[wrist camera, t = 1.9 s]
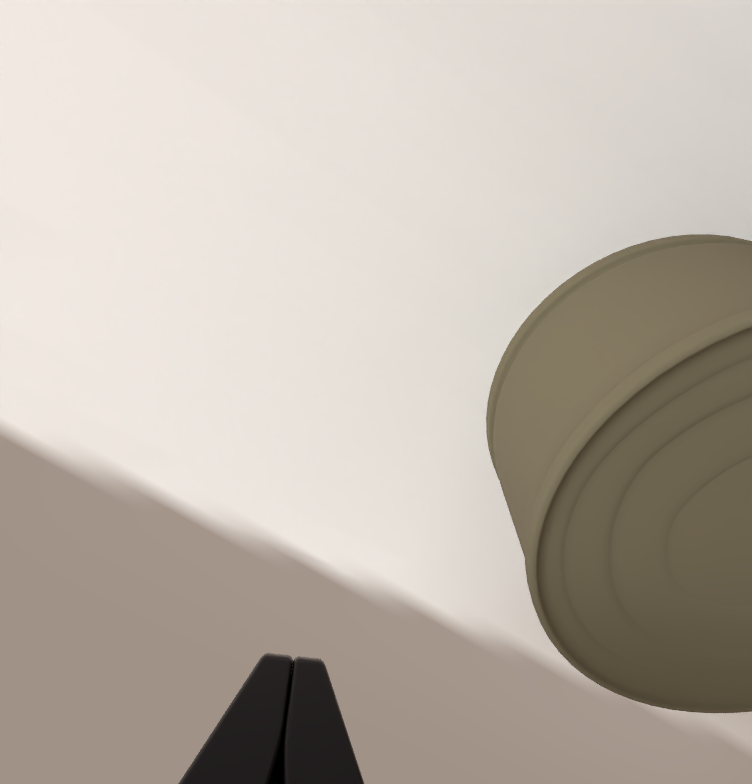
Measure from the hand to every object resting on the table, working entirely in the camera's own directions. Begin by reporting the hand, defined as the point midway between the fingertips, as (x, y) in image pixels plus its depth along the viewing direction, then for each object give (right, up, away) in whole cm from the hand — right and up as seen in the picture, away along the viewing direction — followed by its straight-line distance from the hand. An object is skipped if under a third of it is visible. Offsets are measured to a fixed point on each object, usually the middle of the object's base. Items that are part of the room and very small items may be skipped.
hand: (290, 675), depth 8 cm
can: (+11, +4, +12) cm, 16 cm away
